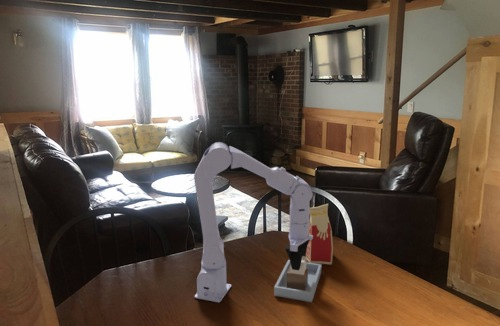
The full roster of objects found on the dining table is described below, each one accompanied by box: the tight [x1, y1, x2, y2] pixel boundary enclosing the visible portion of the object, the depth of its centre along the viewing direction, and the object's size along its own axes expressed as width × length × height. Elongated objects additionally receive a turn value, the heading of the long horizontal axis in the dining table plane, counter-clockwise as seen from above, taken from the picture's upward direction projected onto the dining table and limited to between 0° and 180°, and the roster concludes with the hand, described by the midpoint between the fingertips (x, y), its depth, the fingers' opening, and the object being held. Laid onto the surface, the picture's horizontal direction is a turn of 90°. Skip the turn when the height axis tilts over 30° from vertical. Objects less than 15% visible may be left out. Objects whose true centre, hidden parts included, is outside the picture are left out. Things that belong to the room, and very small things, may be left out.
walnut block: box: [287, 267, 308, 291], centre depth 116 cm, size 4×6×5 cm
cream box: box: [290, 255, 307, 275], centre depth 115 cm, size 4×4×4 cm
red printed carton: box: [305, 203, 334, 266], centre depth 133 cm, size 9×9×20 cm
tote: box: [273, 259, 323, 303], centre depth 119 cm, size 18×11×3 cm, turn 161°
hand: (298, 263), depth 115 cm, fingers open, 7 cm apart
